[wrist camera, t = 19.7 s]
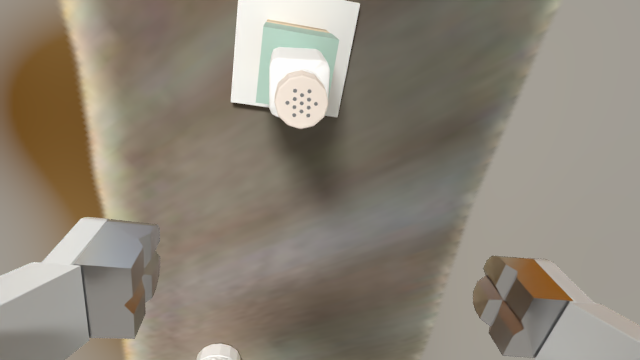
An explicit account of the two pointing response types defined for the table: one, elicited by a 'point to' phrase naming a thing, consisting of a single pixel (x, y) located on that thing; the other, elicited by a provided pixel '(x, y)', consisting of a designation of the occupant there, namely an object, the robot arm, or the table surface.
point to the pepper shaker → (298, 86)
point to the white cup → (218, 353)
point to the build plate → (297, 8)
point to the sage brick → (291, 38)
